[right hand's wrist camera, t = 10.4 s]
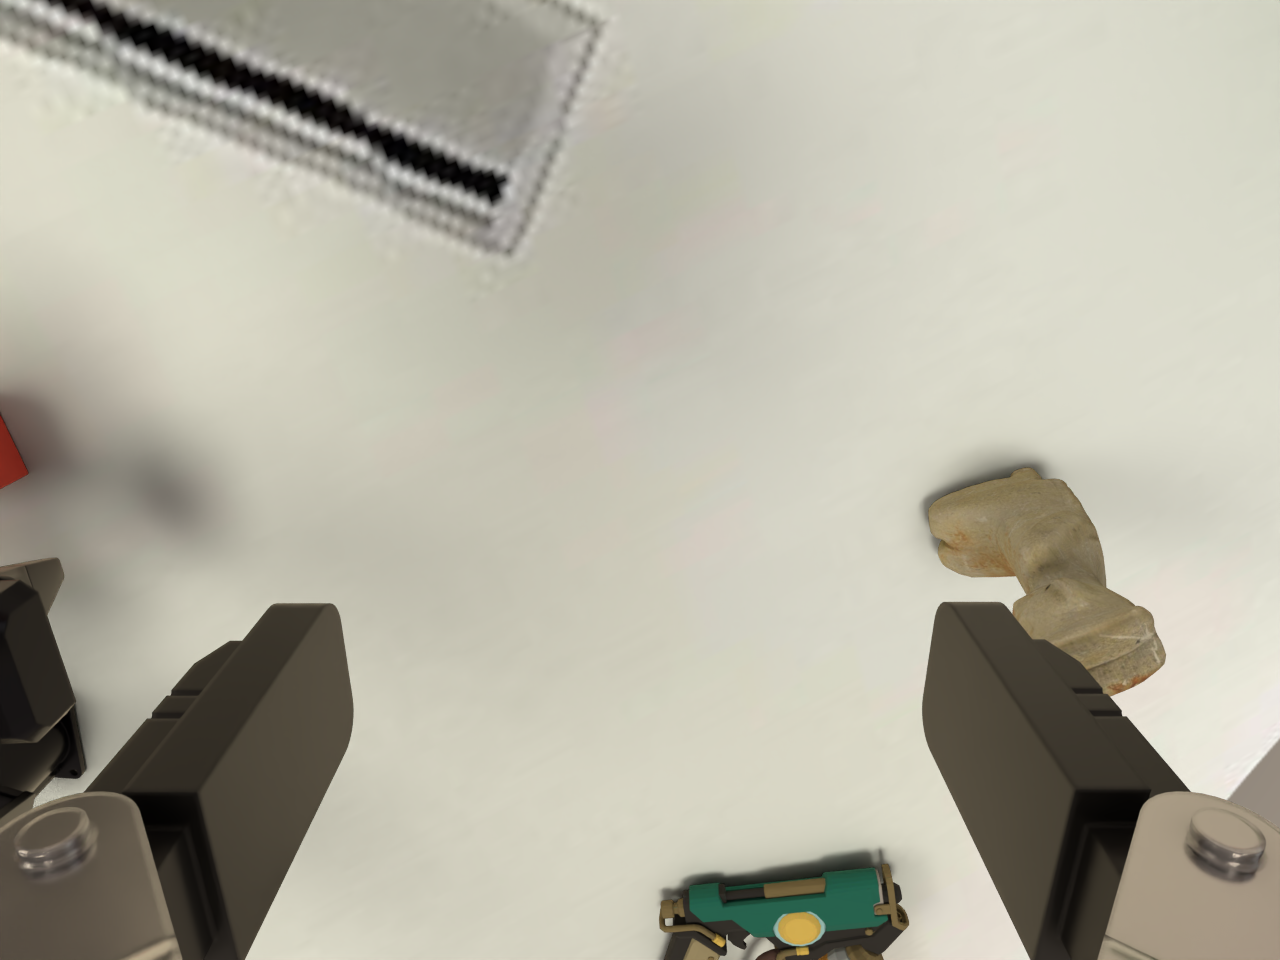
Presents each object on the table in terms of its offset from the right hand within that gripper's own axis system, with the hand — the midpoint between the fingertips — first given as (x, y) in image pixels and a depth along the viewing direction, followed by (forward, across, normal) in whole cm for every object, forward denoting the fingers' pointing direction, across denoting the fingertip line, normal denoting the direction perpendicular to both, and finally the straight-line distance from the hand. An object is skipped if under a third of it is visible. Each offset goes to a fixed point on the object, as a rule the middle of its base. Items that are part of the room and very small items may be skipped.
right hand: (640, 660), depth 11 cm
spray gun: (+35, +10, -45) cm, 58 cm away
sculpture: (+35, +20, -13) cm, 42 cm away
